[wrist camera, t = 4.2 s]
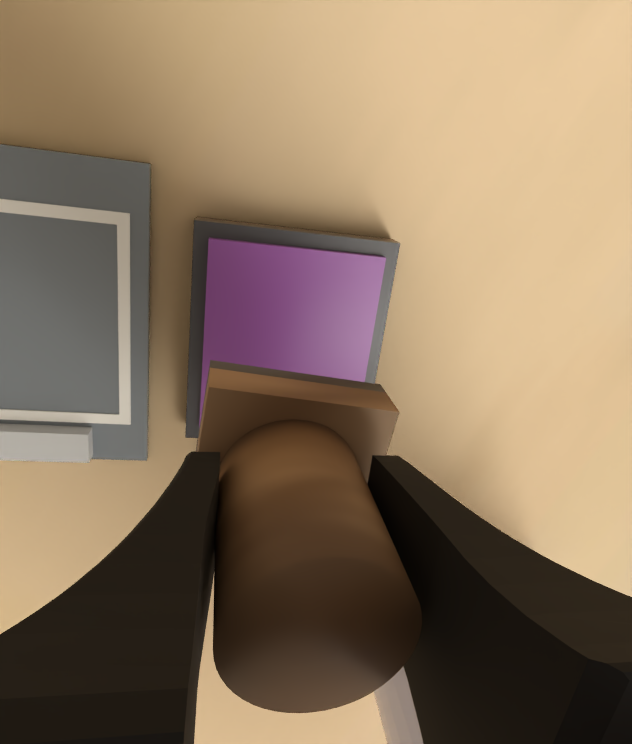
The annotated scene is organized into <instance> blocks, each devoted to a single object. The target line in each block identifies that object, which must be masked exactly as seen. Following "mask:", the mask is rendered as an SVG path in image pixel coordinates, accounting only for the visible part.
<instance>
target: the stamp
mask: <svg viewBox="0 0 632 744" xmlns="http://www.w3.org/2000/svg"><path fill="white" fill-rule="evenodd" d="M398 415H399V411H398V410H397V408H396V407H395V405H394V404H393V402H392V401H391V399H390V398H389V396H388V395H387V394H386V392H385V391H384V389H383V388H382V386H381V385H380V384H374V383H367V382H360V381H353V380H346V379H339V378H332V377H325V376H318V375H311V374H304V373H298V372H291V371H284V370H277V369H270V368H263V367H256V366H249V365H242V364H235V363H228V362H221V361H214V360H210V365H209V371H208V378H207V384H206V390H205V396H204V403H203V409H202V415H201V422H200V428H199V434H198V440H197V447H196V452H220V472H219V491H218V510H217V522H216V532H215V569H214V625H213V655H214V662H215V666H216V669H217V671H218V673H219V675H220V677H221V679H222V680H223V682H224V683H225V684H226V686H227V687H228V688H229V689H230V690H231V691H232V692H233V693H235V694H236V695H237V696H239V697H240V698H242V699H243V700H245V701H247V702H249V703H251V704H253V705H256V706H258V707H261V708H264V709H268V710H272V711H278V712H286V713H308V712H317V711H324V710H328V709H332V708H337V707H340V706H343V705H346V704H349V703H351V702H353V701H356V700H358V699H361V698H362V697H364V696H366V695H368V694H370V693H372V692H373V691H375V690H376V689H378V688H379V687H381V686H382V685H384V684H385V683H386V682H387V681H389V680H390V679H391V678H392V677H393V676H394V675H395V674H396V673H397V672H398V671H399V670H400V669H401V668H402V667H403V666H404V665H405V663H406V662H407V661H408V659H409V658H410V656H411V655H412V653H413V651H414V649H415V647H416V645H417V643H418V640H419V636H420V633H421V627H422V612H421V607H420V603H419V601H418V598H417V596H416V593H415V591H414V589H413V587H412V584H411V582H410V580H409V578H408V575H407V573H406V571H405V569H404V566H403V564H402V562H401V559H400V557H399V555H398V553H397V550H396V548H395V546H394V544H393V541H392V539H391V537H390V535H389V532H388V530H387V528H386V525H385V523H384V521H383V519H382V516H381V514H380V512H379V510H378V507H377V505H376V503H375V501H374V498H373V496H372V494H371V491H370V489H369V487H368V485H367V483H368V478H369V472H370V466H371V461H372V455H385V456H386V454H387V450H388V447H389V444H390V441H391V437H392V434H393V431H394V428H395V424H396V421H397V418H398Z"/></svg>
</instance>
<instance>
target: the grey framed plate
mask: <svg viewBox="0 0 632 744" xmlns="http://www.w3.org/2000/svg"><path fill="white" fill-rule="evenodd" d="M150 199H151V164H149V163H141V162H134V161H126V160H118V159H111V158H103V157H95V156H88V155H80V154H72V153H65V152H57V151H49V150H42V149H34V148H26V147H19V146H11V145H3V144H0V460H7V461H42V462H78V463H89V462H90V460H91V459H111V460H145V461H147V458H148V397H149V298H150Z"/></svg>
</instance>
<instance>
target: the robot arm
mask: <svg viewBox="0 0 632 744" xmlns="http://www.w3.org/2000/svg"><path fill="white" fill-rule="evenodd" d="M219 472H220V452H191V453H189V454H188V455H187V456H186V458H185V460H184V462H183V464H182V466H181V468H180V469H179V471H178V473H177V474H176V476H175V477H174V479H173V480H172V482H171V483H170V485H169V486H168V487H167V489H166V490H165V491H164V493H163V494H162V495H161V497H160V498H159V499H158V501H157V502H156V503H155V505H154V506H153V507H152V508H151V510H150V511H149V512H148V513H147V514H146V515H145V516H144V518H143V519H142V520H141V521H140V522H139V523H138V525H137V526H136V527H135V528H134V529H133V530H132V531H131V532H130V533H129V534H128V536H127V537H126V538H125V539H124V540H123V541H122V542H121V543H120V544H119V545H118V546H117V547H116V548H115V549H114V550H112V551H111V552H110V553H109V554H108V555H107V556H106V557H105V558H104V559H103V560H102V561H101V562H100V563H98V564H97V565H96V566H95V567H94V568H92V569H91V570H90V571H89V572H88V573H87V574H85V575H84V576H83V577H82V578H81V579H79V580H78V581H77V582H76V583H75V584H73V585H72V586H71V587H70V588H68V589H67V590H66V591H64V592H63V593H62V594H60V595H59V596H58V597H56V598H55V599H54V600H52V601H51V602H49V603H48V604H46V605H45V606H43V607H42V608H41V609H39V610H38V611H36V612H35V613H33V614H32V615H30V616H29V617H27V618H25V619H24V620H22V621H21V622H19V623H18V624H16V625H15V626H13V627H11V628H10V629H8V630H7V631H5V632H3V633H2V634H0V744H194V733H195V717H196V701H197V687H198V678H199V669H200V662H201V656H202V649H203V642H204V636H205V629H206V622H207V616H208V609H209V603H210V596H211V589H212V583H213V576H214V568H215V532H216V522H217V510H218V491H219ZM367 485H368V487H369V489H370V491H371V494H372V496H373V498H374V501H375V503H376V505H377V507H378V510H379V512H380V514H381V516H382V519H383V521H384V523H385V525H386V528H387V530H388V532H389V535H390V537H391V539H392V541H393V544H394V546H395V548H396V550H397V553H398V555H399V557H400V559H401V562H402V564H403V566H404V569H405V571H406V573H407V575H408V578H409V580H410V582H411V584H412V587H413V589H414V591H415V593H416V596H417V598H418V601H419V603H420V607H421V612H422V627H421V633H420V636H419V640H418V643H417V645H416V647H415V649H414V651H413V653H412V655H411V656H410V658H409V659H408V661H407V662H406V663H405V665H404V666H403V667H402V668H401V669H400V670H399V671H398V672H397V673H396V674H395V675H394V676H393V677H392V678H391V679H390V680H389V681H387V682H386V683H385V684H384V685H382V686H381V687H379V688H378V689H376V690H375V691H374V695H375V699H376V702H377V706H378V710H379V714H380V717H381V721H382V725H383V729H384V733H385V736H386V740H387V744H632V597H630V596H627V595H625V594H622V593H620V592H617V591H615V590H613V589H610V588H608V587H606V586H604V585H601V584H599V583H597V582H594V581H592V580H590V579H588V578H586V577H584V576H582V575H580V574H578V573H576V572H574V571H572V570H569V569H567V568H565V567H563V566H561V565H559V564H557V563H555V562H553V561H552V560H550V559H548V558H546V557H544V556H542V555H540V554H539V553H537V552H535V551H533V550H532V549H530V548H528V547H526V546H525V545H523V544H521V543H519V542H518V541H516V540H514V539H513V538H511V537H509V536H508V535H506V534H505V533H503V532H501V531H500V530H498V529H497V528H495V527H494V526H492V525H491V524H489V523H488V522H486V521H485V520H483V519H482V518H481V517H479V516H478V515H476V514H475V513H473V512H472V511H471V510H469V509H468V508H466V507H465V506H464V505H462V504H461V503H460V502H458V501H457V500H456V499H454V498H453V497H452V496H450V495H449V494H448V493H446V492H445V491H444V490H442V489H441V488H440V487H439V486H437V485H436V484H435V483H433V482H432V481H431V480H430V479H428V478H427V477H426V476H425V475H423V474H422V473H421V472H419V471H418V470H417V469H416V468H414V467H413V466H412V465H410V464H409V463H408V462H406V461H405V460H403V459H402V458H400V457H399V456H385V455H372V461H371V466H370V472H369V478H368V483H367Z"/></svg>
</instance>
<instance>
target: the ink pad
mask: <svg viewBox="0 0 632 744" xmlns="http://www.w3.org/2000/svg"><path fill="white" fill-rule="evenodd" d="M399 247H400V243H399V242H397V241H395V240H393V239H386V238H377V237H368V236H360V235H351V234H342V233H333V232H325V231H316V230H307V229H298V228H290V227H281V226H272V225H263V224H255V223H246V222H237V221H228V220H220V219H211V218H202V217H196V218H195V219H194V235H193V260H192V286H191V311H190V336H189V361H188V386H187V411H186V438H198V434H199V428H200V422H201V415H202V409H203V403H204V396H205V390H206V384H207V378H208V371H209V365H210V360H214V361H221V362H228V363H235V364H242V365H249V366H256V367H263V368H270V369H277V370H284V371H291V372H298V373H304V374H311V375H318V376H325V377H332V378H339V379H346V380H353V381H360V382H367V383H374V384H375V379H376V374H377V368H378V363H379V357H380V352H381V346H382V341H383V335H384V330H385V324H386V319H387V313H388V308H389V302H390V297H391V291H392V286H393V280H394V275H395V269H396V264H397V258H398V253H399Z"/></svg>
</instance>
